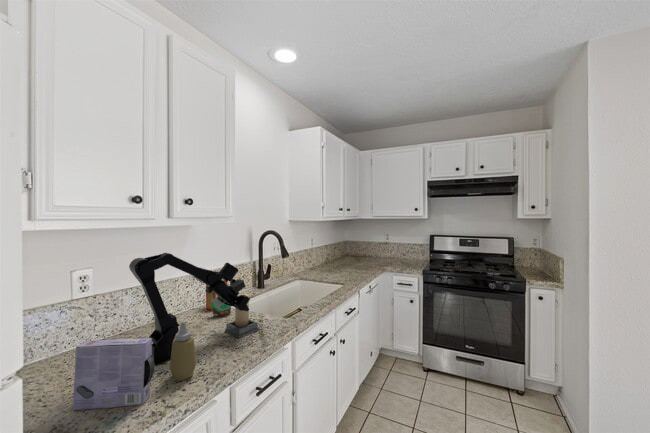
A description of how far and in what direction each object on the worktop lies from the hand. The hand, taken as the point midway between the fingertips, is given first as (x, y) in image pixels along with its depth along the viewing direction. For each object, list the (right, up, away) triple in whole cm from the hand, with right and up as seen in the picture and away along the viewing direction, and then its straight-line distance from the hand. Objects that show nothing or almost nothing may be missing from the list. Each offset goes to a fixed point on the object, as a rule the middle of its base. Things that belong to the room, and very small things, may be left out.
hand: (244, 308), depth 130 cm
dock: (-1, -10, -1) cm, 10 cm away
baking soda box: (-25, -10, +30) cm, 40 cm away
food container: (-16, -10, +19) cm, 27 cm away
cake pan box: (-23, -11, -50) cm, 56 cm away
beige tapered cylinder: (-1, -7, -1) cm, 7 cm away
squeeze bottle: (-10, -10, -37) cm, 40 cm away
